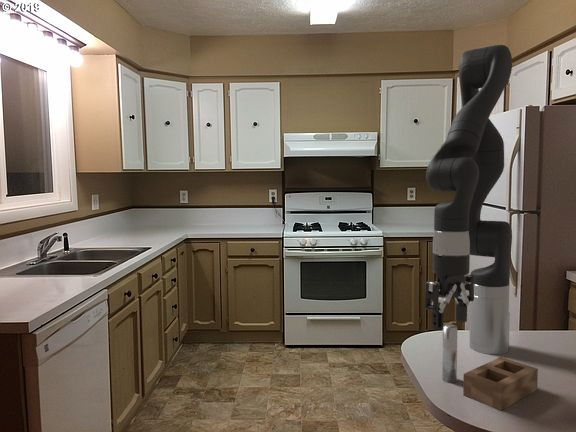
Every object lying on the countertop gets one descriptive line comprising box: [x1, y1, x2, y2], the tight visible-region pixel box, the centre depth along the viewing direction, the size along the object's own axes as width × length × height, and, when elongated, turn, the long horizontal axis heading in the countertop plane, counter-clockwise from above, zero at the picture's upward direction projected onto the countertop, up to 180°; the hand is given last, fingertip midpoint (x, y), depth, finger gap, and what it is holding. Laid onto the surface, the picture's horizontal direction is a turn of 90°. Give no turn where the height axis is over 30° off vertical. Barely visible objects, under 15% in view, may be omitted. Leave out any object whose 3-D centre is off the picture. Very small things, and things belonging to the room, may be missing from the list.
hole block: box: [462, 356, 539, 411], centre depth 94 cm, size 14×8×4 cm, turn 126°
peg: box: [441, 323, 458, 384], centre depth 100 cm, size 3×3×12 cm
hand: (449, 325), depth 99 cm, fingers open, 8 cm apart
